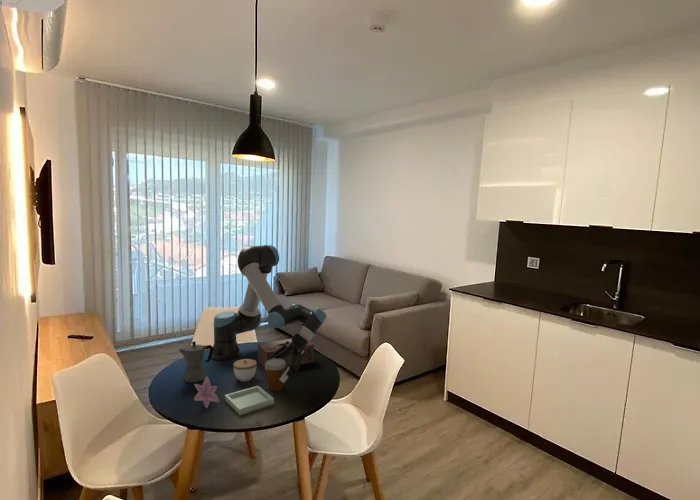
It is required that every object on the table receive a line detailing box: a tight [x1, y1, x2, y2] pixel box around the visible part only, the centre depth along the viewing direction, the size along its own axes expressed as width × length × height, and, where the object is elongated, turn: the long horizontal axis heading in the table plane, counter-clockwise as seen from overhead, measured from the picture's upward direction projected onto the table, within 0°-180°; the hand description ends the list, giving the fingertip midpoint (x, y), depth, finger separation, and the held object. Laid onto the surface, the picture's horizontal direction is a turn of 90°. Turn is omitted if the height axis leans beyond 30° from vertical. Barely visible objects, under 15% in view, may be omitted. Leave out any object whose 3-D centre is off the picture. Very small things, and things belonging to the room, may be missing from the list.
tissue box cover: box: [257, 338, 315, 370], centre depth 209 cm, size 26×14×10 cm, turn 120°
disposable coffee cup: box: [265, 359, 286, 391], centre depth 178 cm, size 10×10×12 cm
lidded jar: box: [233, 358, 258, 382], centre depth 187 cm, size 11×11×9 cm
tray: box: [224, 385, 275, 416], centre depth 164 cm, size 15×15×2 cm
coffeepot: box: [178, 341, 214, 383], centre depth 186 cm, size 15×9×18 cm, turn 110°
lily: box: [193, 375, 221, 409], centre depth 163 cm, size 12×12×10 cm
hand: (274, 376), depth 177 cm, fingers open, 13 cm apart
